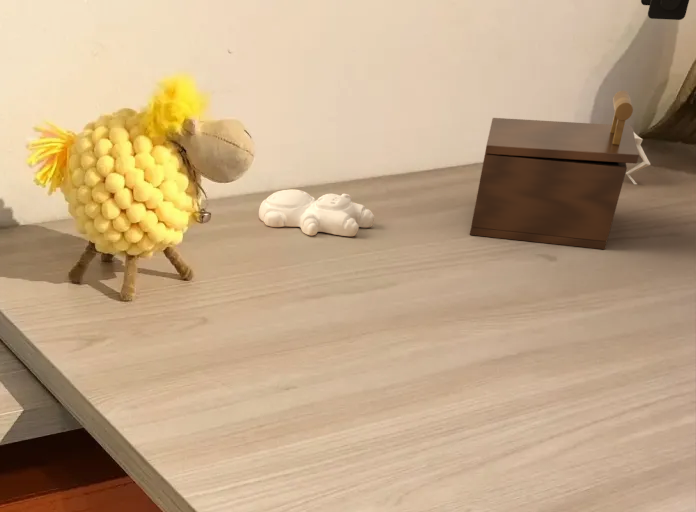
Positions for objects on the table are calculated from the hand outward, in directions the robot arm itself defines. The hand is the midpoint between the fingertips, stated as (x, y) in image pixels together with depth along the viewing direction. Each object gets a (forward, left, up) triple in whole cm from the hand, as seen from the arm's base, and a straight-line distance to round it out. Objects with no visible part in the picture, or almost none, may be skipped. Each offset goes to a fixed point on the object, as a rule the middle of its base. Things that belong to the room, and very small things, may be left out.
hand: (661, 11), depth 98 cm
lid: (+6, +1, -12) cm, 14 cm away
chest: (+7, +1, -20) cm, 21 cm away
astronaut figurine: (+30, +9, -20) cm, 37 cm away
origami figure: (-1, -22, -20) cm, 30 cm away
